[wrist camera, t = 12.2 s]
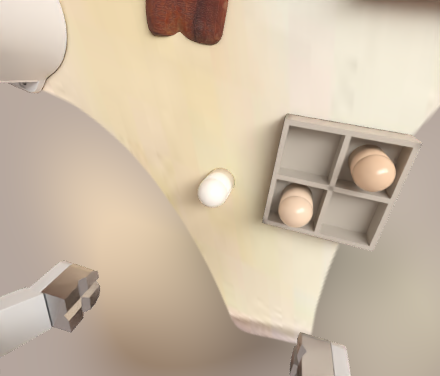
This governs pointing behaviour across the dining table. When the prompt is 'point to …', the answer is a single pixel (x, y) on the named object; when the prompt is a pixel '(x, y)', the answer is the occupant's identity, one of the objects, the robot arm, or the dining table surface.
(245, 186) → the dining table surface
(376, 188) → the brown egg
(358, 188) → the carton
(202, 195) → the white egg
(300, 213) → the seated egg
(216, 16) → the brown flat tapered piece
